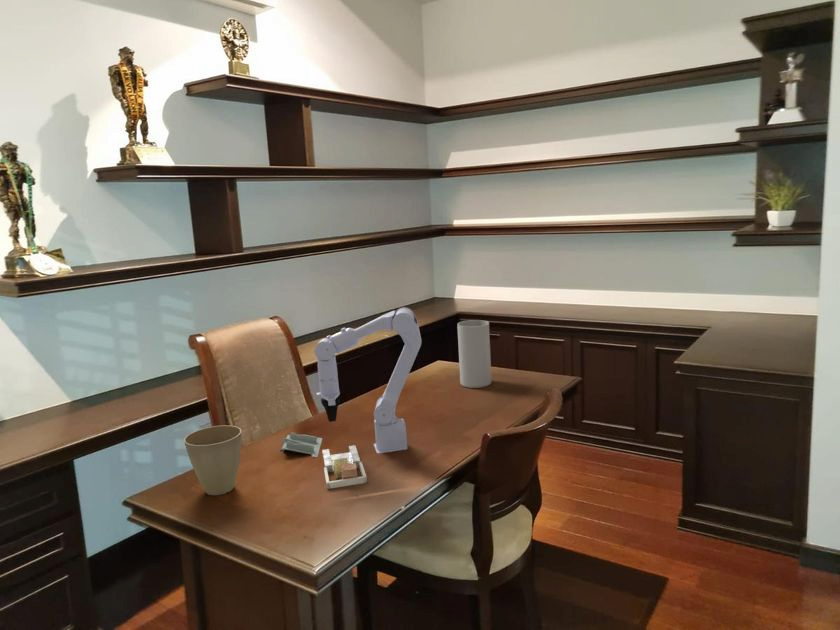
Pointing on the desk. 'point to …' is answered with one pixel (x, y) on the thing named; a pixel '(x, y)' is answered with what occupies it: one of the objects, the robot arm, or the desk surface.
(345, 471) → the copper cube
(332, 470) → the aluminium channel
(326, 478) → the tray
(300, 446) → the metal bracket
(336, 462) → the brass cube
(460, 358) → the cylinder vase
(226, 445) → the plant pot
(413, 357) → the robot arm
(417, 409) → the desk surface
